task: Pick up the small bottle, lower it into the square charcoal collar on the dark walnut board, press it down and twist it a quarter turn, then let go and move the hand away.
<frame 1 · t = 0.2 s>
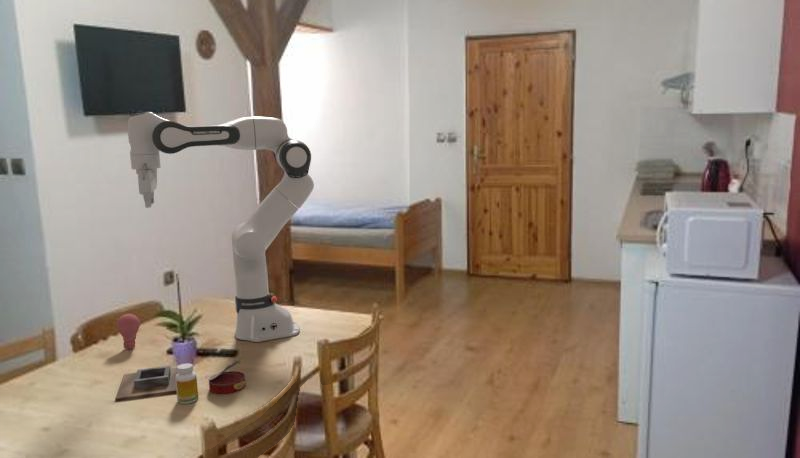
hand: (149, 205, 213), 48 cm above the table, tool pointing down, fingers open, 8 cm apart
canned food: (227, 388, 184), on the table
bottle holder: (153, 384, 188), on the table
light bulb: (130, 349, 218), on the table
supplement bottle: (188, 400, 176), on the table
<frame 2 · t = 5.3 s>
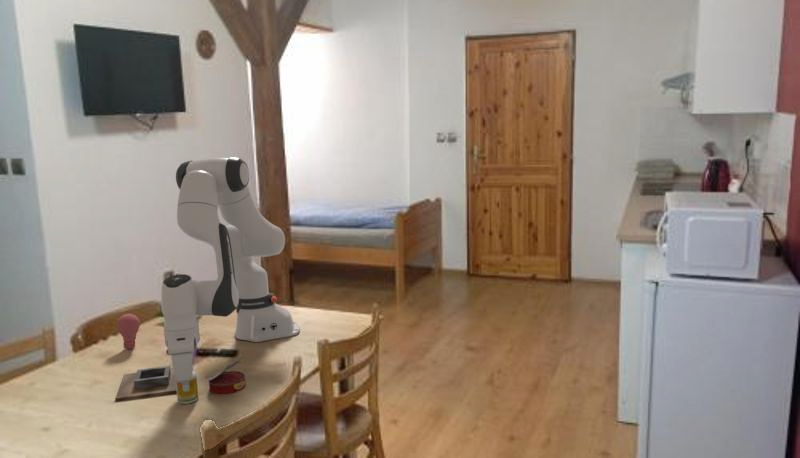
hand: (186, 385, 176), 4 cm above the table, tool pointing down, fingers closed on supplement bottle, 5 cm apart
supplement bottle: (188, 400, 176), on the table, touching gripper
everything else where it was.
when the fingers open (11 cm above the table, at t = 10.5 s): supplement bottle drops 3 cm, point 3 cm above the table.
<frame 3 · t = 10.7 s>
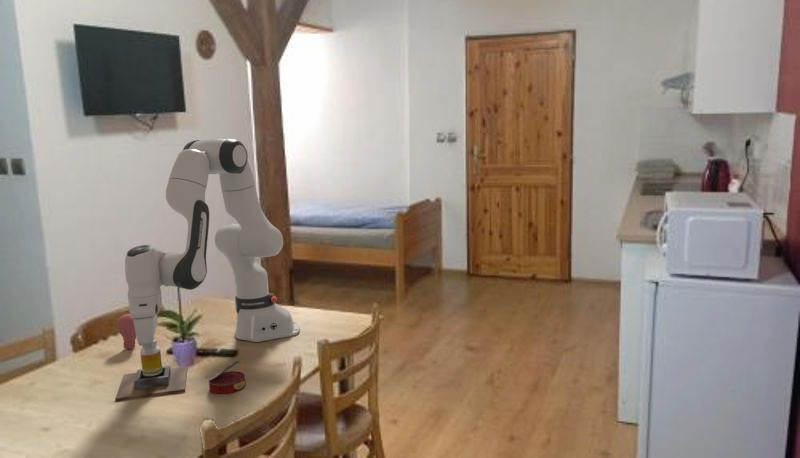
hand: (150, 350, 186), 10 cm above the table, tool pointing down
supplement bottle: (152, 373, 187), point 3 cm above the table, touching gripper
everything else where it was.
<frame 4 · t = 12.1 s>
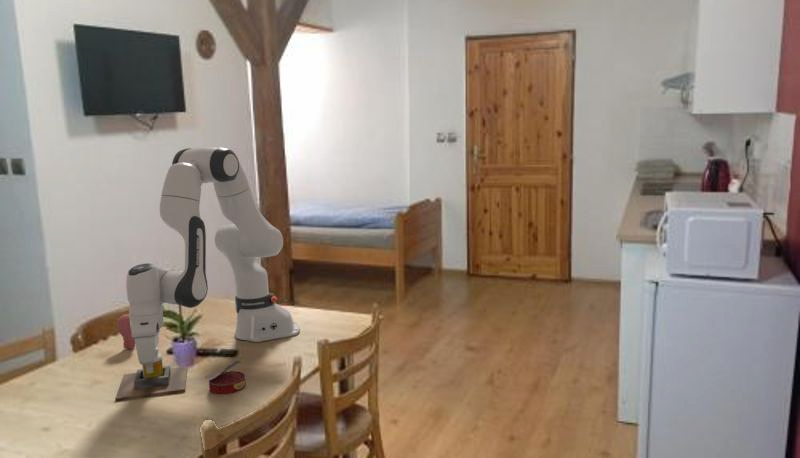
hand: (151, 367, 187), 5 cm above the table, tool pointing down, fingers open, 6 cm apart
supplement bottle: (154, 381, 188), point 1 cm above the table, touching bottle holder, gripper
everything else where it was.
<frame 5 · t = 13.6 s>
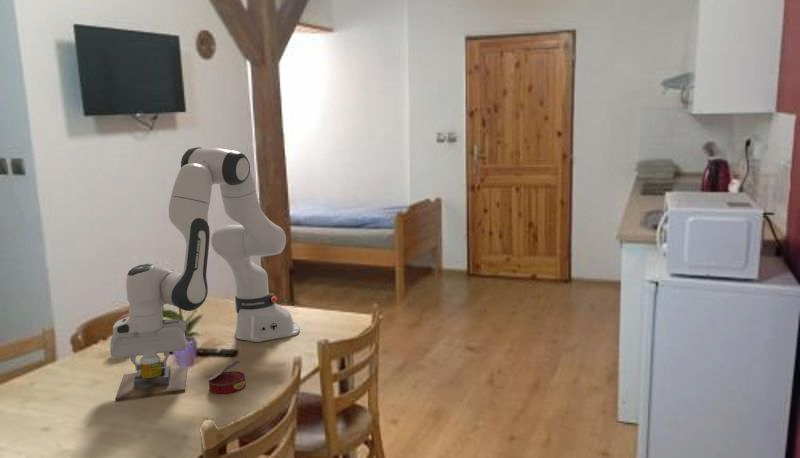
hand: (151, 368, 187), 5 cm above the table, tool pointing down, fingers closed on supplement bottle, 5 cm apart
supplement bottle: (152, 382, 187), point 1 cm above the table, touching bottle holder, gripper
everything else where it was.
when the fingers open (5 cm above the table, at t = 13.8 s): supplement bottle stays where it is, resting on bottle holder.
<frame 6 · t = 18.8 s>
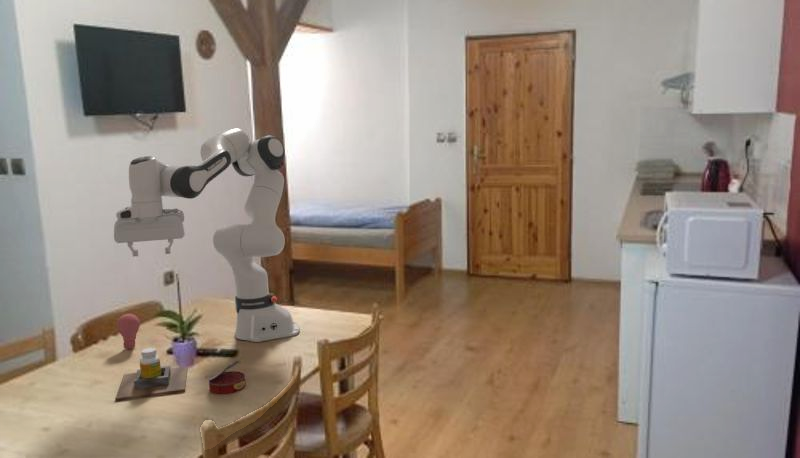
hand: (151, 254, 201), 34 cm above the table, tool pointing down, fingers open, 8 cm apart
supplement bottle: (152, 383, 187), point 1 cm above the table, touching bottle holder
everything else where it was.
at the end: supplement bottle 0.7 cm off-centre on the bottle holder, point 0.6 cm above the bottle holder's base; supplement bottle tilted 0°; the gripper is holding nothing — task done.
